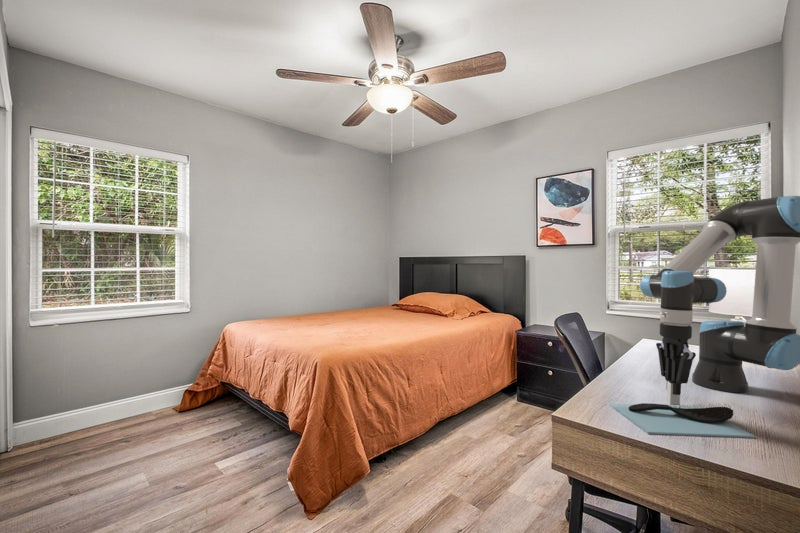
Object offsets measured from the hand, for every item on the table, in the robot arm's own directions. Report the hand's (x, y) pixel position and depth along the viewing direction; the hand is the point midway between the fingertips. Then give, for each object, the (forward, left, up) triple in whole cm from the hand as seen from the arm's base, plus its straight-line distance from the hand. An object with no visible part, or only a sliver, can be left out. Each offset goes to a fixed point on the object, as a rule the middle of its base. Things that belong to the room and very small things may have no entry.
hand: (673, 404), depth 109 cm
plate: (+4, +6, -2) cm, 8 cm away
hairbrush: (+2, +5, -2) cm, 6 cm away
